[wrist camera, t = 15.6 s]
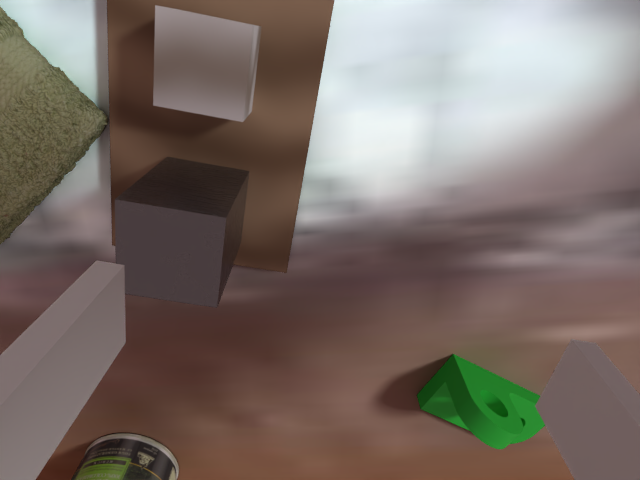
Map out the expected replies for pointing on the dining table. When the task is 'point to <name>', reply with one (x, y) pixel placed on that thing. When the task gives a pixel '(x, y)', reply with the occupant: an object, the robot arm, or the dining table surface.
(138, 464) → the coffee can
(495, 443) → the mechanical part
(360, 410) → the dining table surface
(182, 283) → the dark grey block
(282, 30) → the board
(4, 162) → the washcloth
